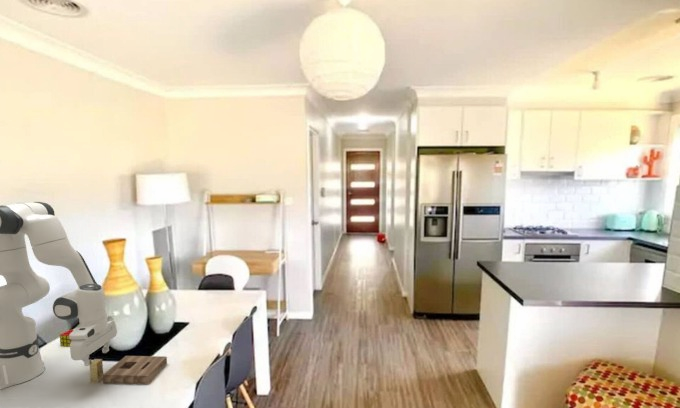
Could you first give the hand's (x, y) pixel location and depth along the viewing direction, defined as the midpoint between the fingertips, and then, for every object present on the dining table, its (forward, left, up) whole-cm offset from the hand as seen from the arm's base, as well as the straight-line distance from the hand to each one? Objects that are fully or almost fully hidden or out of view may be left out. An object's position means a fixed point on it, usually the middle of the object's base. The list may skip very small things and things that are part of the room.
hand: (97, 358), depth 135 cm
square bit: (-1, 0, -9) cm, 9 cm away
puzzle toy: (-35, +28, -10) cm, 46 cm away
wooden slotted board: (+12, +5, -9) cm, 16 cm away
